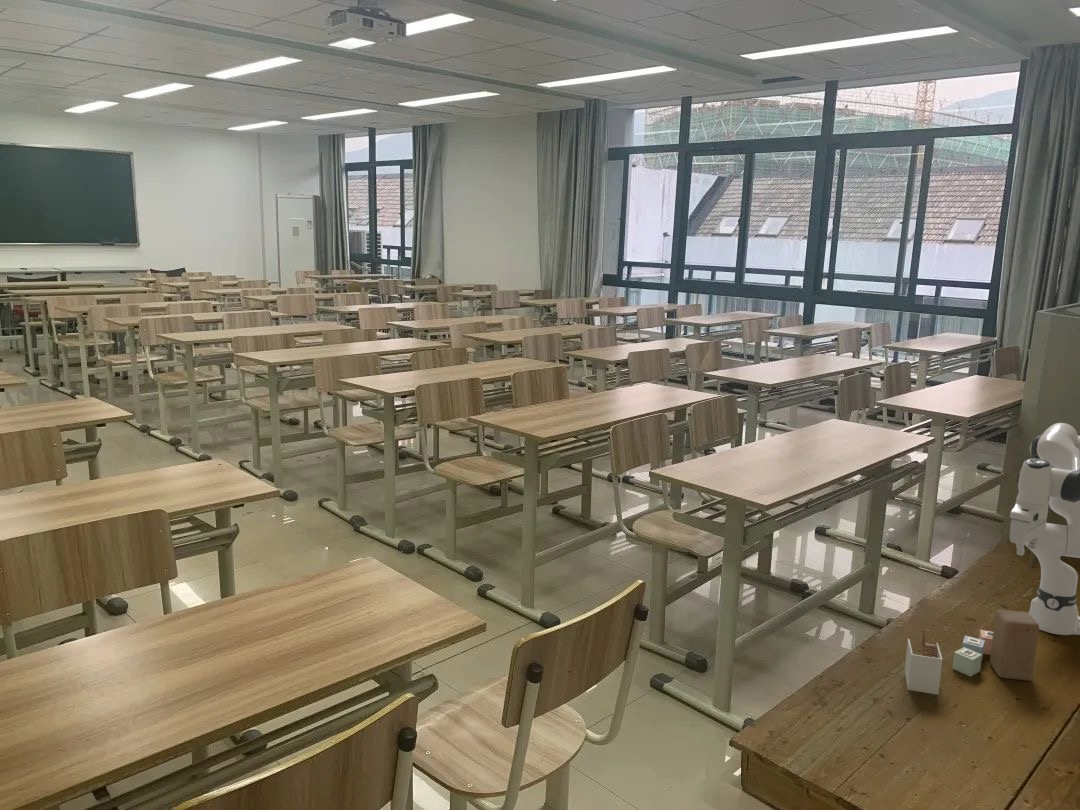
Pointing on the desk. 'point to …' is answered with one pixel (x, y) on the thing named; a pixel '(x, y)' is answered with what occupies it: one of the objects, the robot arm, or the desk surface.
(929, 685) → the tall white open bin
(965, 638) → the tile cube slate
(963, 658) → the tile cube sage
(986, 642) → the tile cube terracotta
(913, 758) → the desk surface
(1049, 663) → the desk surface
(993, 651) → the wooden block
